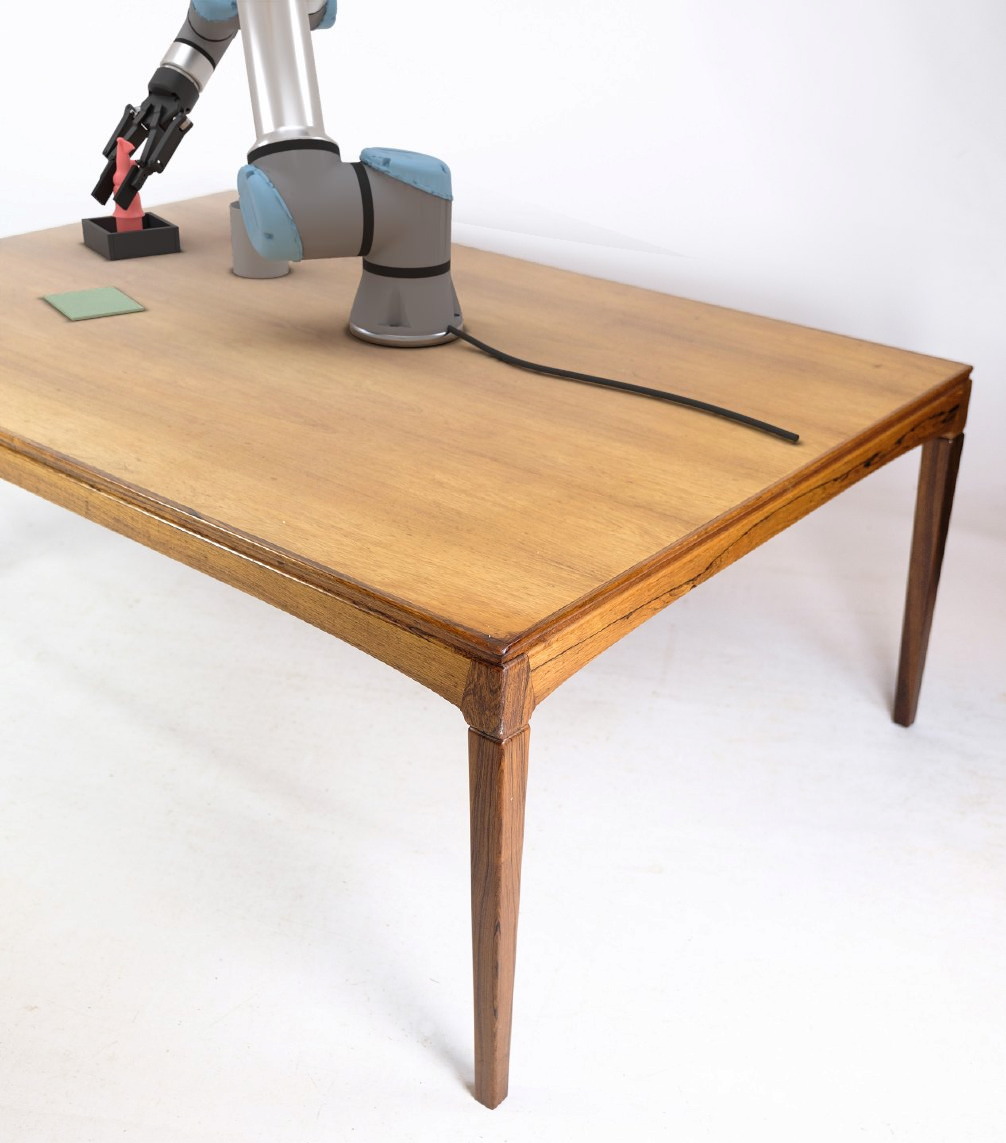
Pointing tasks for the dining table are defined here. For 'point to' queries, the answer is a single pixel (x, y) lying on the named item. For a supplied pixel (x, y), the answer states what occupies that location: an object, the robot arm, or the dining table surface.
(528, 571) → the dining table surface
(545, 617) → the dining table surface
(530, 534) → the dining table surface
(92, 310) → the mat
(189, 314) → the dining table surface
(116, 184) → the figurine
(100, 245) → the box
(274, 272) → the cup
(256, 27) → the robot arm
